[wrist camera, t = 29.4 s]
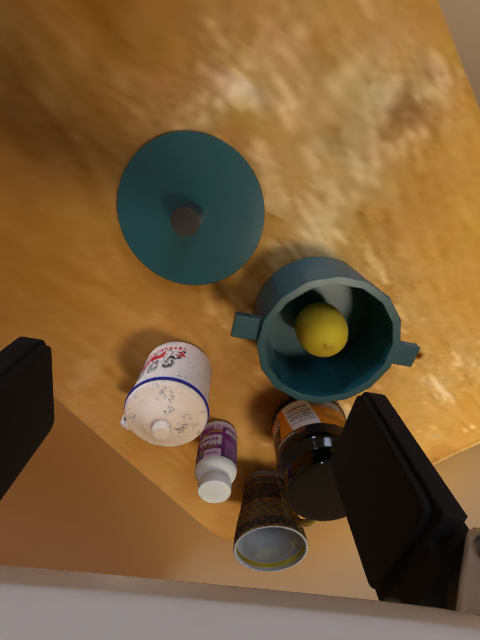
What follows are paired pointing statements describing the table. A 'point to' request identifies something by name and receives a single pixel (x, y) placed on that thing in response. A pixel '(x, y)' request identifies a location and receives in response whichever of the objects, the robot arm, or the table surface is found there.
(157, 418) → the teacup with lid
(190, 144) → the cooker lid
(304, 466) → the supplement container
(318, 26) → the table surface
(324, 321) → the lemon
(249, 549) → the ceramic cup
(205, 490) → the pill bottle
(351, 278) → the cooker
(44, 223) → the table surface
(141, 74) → the table surface
